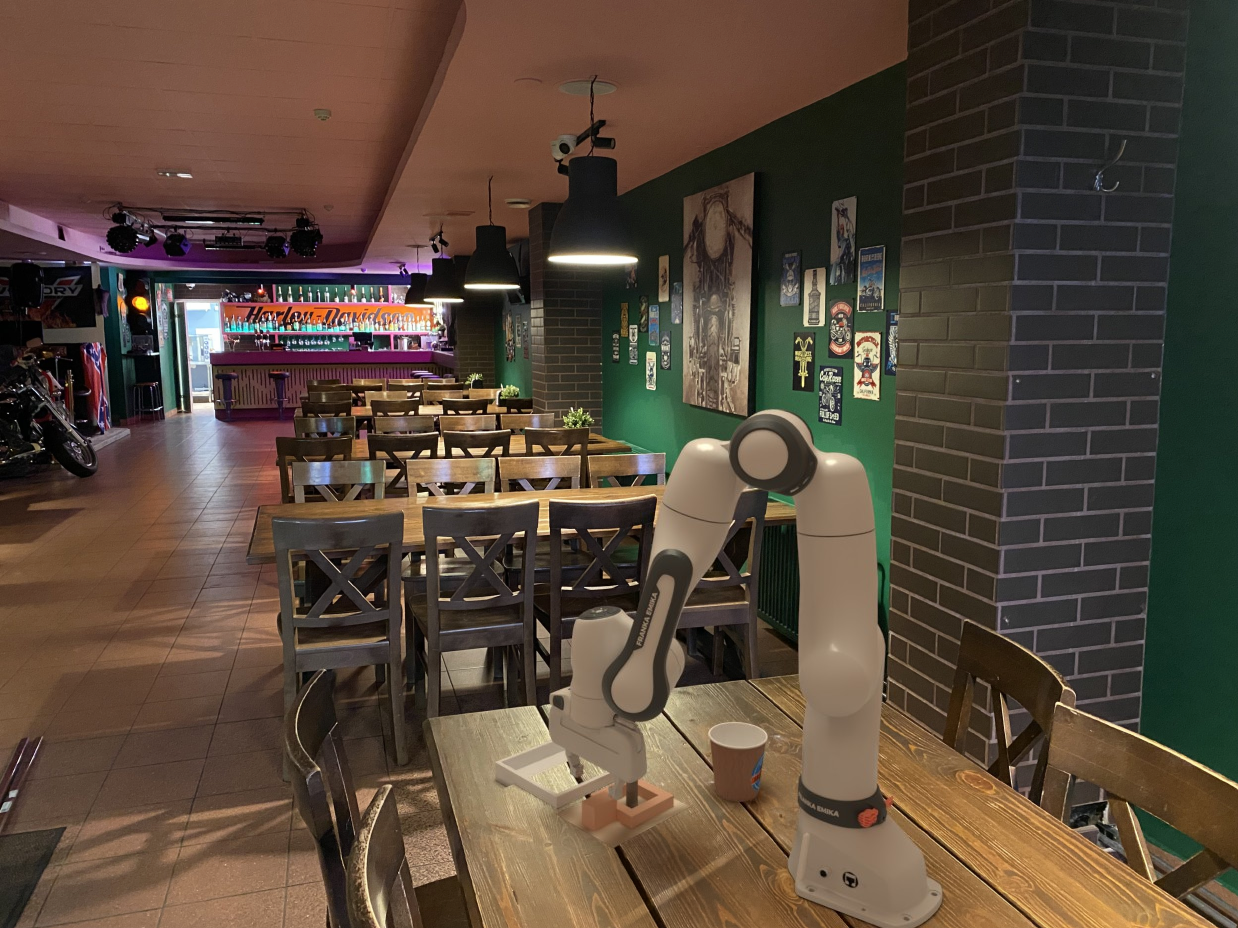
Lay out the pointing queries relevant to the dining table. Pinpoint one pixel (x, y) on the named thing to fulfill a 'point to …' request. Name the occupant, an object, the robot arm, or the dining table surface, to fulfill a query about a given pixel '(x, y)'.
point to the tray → (539, 761)
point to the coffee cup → (737, 759)
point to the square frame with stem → (624, 807)
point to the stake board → (617, 830)
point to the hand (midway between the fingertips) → (595, 785)
